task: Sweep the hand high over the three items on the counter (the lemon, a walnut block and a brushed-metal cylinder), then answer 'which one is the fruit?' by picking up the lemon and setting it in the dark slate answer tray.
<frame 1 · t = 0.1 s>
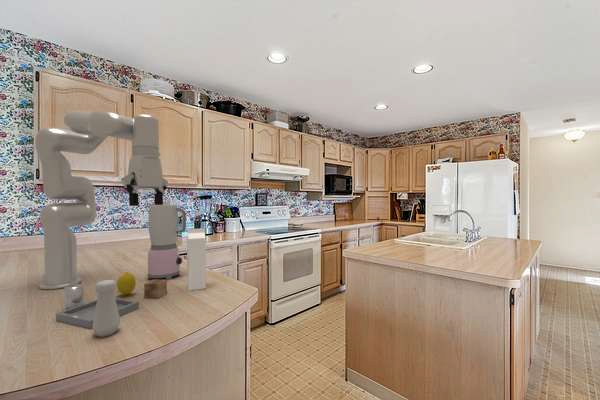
hand: (146, 205, 93), 31 cm above the worktop, tool pointing down, fingers open, 9 cm apart
lemon: (126, 295, 96), on the worktop
walnut block: (155, 296, 96), on the worktop
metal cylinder: (74, 309, 85), on the worktop
answer tray: (99, 314, 81), on the worktop
milk: (196, 287, 105), on the worktop
salt shaker: (106, 333, 70), on the worktop
blender: (167, 277, 118), on the worktop
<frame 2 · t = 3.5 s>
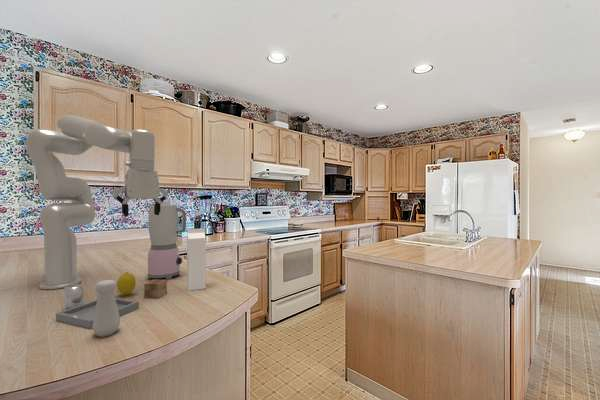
hand: (141, 215, 98), 28 cm above the worktop, tool pointing down, fingers open, 9 cm apart
nothing on the worktop moved.
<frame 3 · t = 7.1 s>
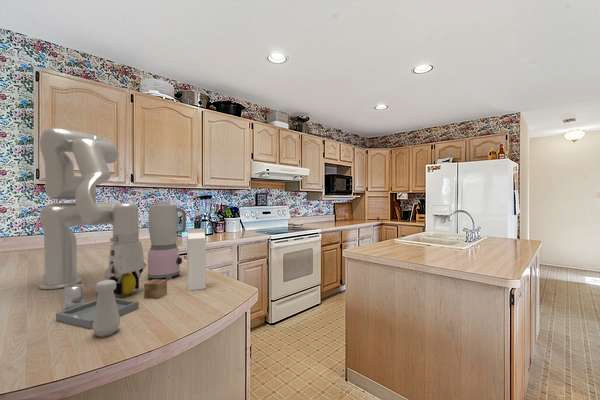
hand: (126, 290, 96), 2 cm above the worktop, tool pointing down, fingers closed on lemon, 5 cm apart
lemon: (126, 295, 96), on the worktop, touching gripper
everything else where it was.
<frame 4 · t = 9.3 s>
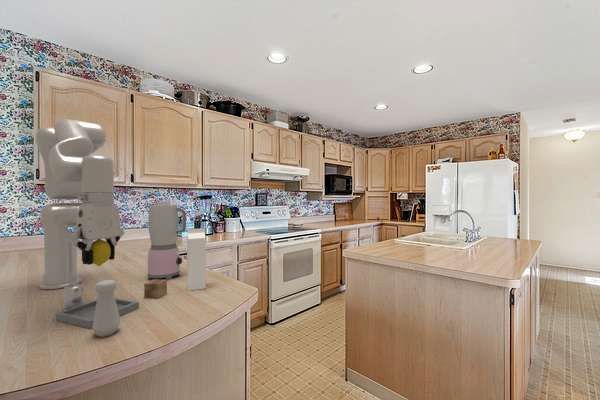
hand: (99, 260, 81), 15 cm above the worktop, tool pointing down, fingers closed on lemon, 5 cm apart
lemon: (99, 266, 81), point 14 cm above the worktop, touching gripper
everything else where it was.
when the fingers open (4 cm above the worktop, at t = 11.5 s): lemon drops 1 cm, resting on answer tray.
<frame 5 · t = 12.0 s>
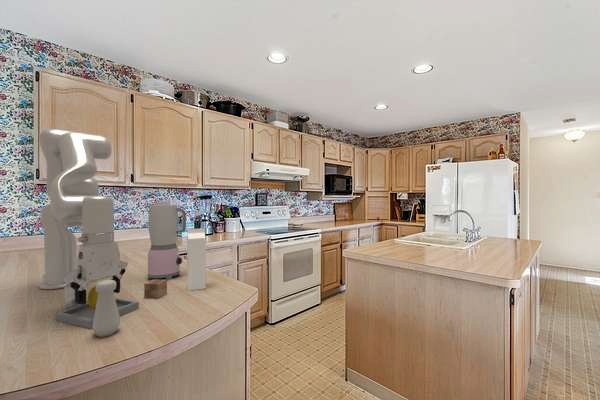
hand: (99, 297, 81), 5 cm above the worktop, tool pointing down, fingers open, 9 cm apart
lemon: (100, 311, 81), point 1 cm above the worktop, touching answer tray
everything else where it was.
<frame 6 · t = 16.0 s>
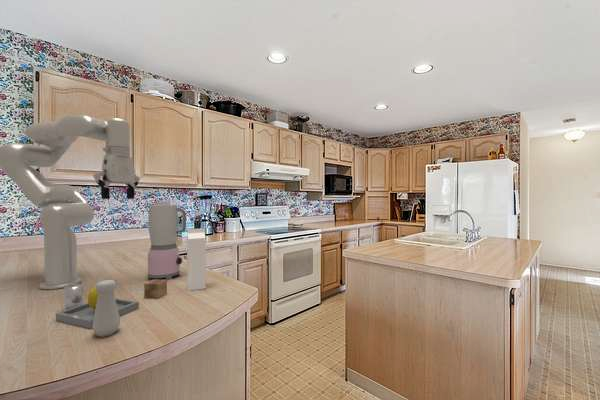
hand: (118, 198, 104), 33 cm above the worktop, tool pointing down, fingers open, 9 cm apart
nothing on the worktop moved.
at the end: lemon 0.3 cm from the answer tray (horizontally); lemon point 0.6 cm above the worktop; the gripper is holding nothing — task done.
